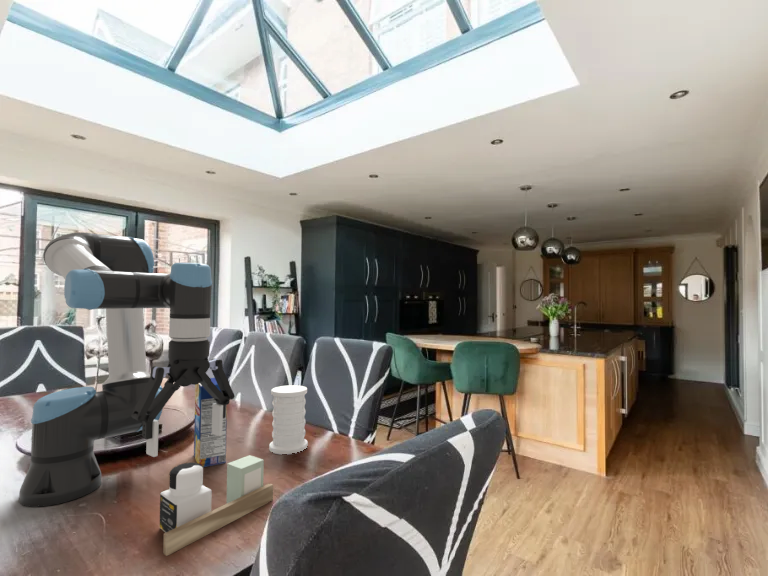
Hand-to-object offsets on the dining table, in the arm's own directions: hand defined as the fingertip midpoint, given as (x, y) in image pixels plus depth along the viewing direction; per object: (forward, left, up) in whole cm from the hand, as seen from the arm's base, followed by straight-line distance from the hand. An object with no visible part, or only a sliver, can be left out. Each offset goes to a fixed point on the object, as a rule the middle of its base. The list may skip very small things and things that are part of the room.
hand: (186, 444), depth 81 cm
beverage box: (-27, +23, -17) cm, 39 cm away
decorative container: (-15, +42, -17) cm, 48 cm away
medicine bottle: (0, 0, -17) cm, 17 cm away
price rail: (+6, +5, -16) cm, 18 cm away
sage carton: (+2, +13, -16) cm, 21 cm away
